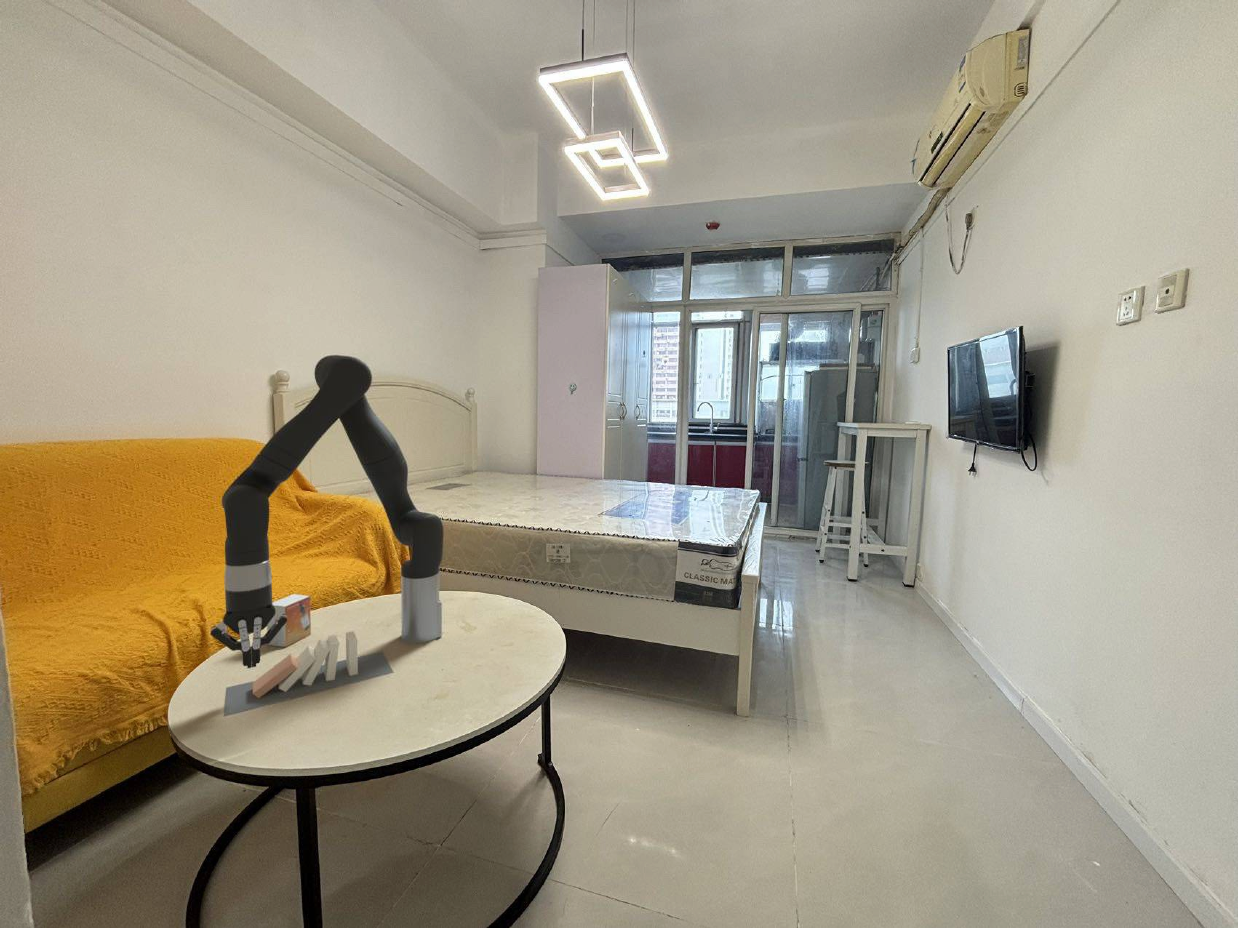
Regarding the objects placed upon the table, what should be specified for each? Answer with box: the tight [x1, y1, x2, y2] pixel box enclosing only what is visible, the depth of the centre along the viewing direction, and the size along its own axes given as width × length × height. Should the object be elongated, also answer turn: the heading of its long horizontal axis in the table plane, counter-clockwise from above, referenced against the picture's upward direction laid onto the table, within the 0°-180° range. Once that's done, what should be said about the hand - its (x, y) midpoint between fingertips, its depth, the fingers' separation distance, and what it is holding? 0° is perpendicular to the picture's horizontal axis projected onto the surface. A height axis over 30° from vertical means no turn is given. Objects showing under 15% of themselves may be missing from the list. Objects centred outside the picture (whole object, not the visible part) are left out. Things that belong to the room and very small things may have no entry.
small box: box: [266, 593, 312, 648], centre depth 126 cm, size 8×6×10 cm
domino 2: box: [278, 645, 317, 692], centre depth 105 cm, size 2×5×8 cm
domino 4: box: [323, 634, 340, 681], centre depth 109 cm, size 2×5×8 cm, turn 36°
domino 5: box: [345, 630, 359, 676], centre depth 112 cm, size 2×5×8 cm, turn 36°
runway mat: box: [223, 650, 395, 717], centre depth 107 cm, size 30×12×1 cm, turn 126°
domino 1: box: [252, 653, 297, 699], centre depth 103 cm, size 2×5×8 cm
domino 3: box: [301, 638, 330, 686], centre depth 107 cm, size 2×5×8 cm, turn 36°
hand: (252, 665), depth 101 cm, fingers closed
